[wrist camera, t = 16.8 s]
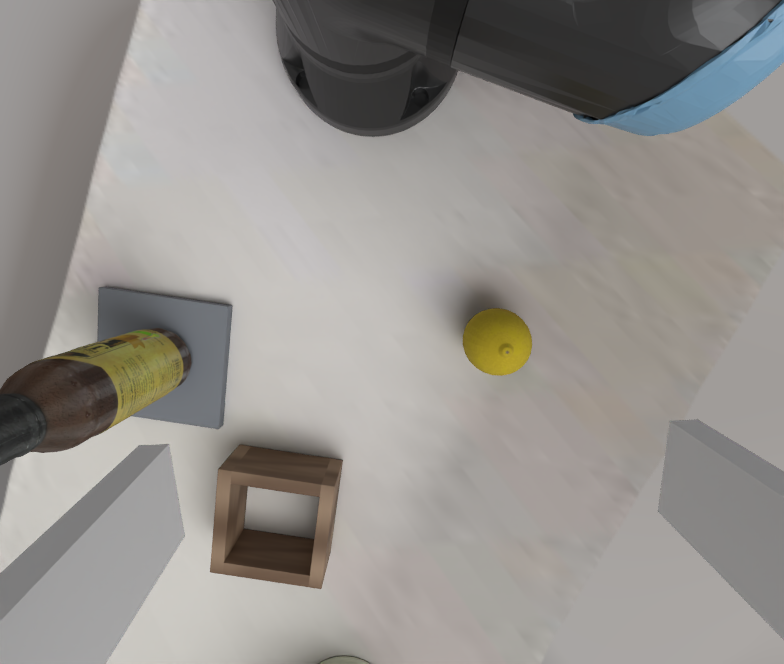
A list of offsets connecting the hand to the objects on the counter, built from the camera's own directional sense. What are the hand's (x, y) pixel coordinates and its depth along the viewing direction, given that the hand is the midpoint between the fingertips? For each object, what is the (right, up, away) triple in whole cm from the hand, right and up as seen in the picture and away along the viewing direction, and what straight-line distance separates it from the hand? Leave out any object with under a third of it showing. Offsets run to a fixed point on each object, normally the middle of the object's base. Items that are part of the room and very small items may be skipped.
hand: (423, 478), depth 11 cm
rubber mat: (-23, +1, +30) cm, 38 cm away
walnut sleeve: (-12, -13, +33) cm, 37 cm away
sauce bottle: (-22, +1, +29) cm, 37 cm away
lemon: (+8, +4, +29) cm, 30 cm away
